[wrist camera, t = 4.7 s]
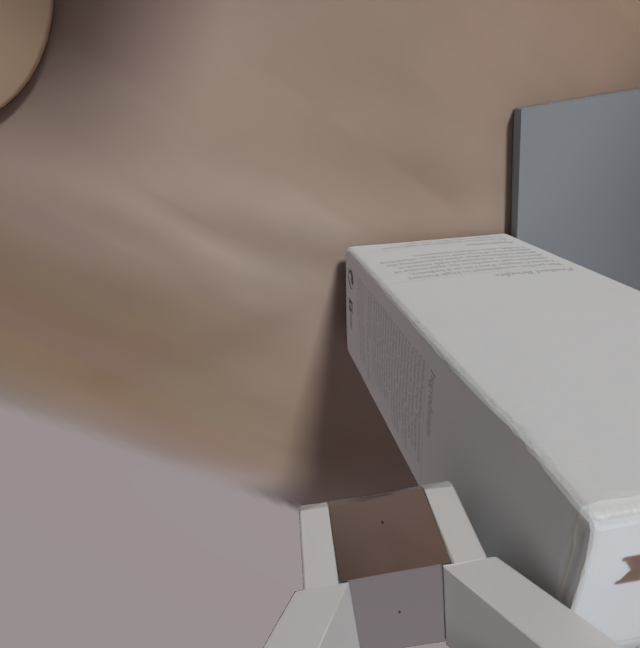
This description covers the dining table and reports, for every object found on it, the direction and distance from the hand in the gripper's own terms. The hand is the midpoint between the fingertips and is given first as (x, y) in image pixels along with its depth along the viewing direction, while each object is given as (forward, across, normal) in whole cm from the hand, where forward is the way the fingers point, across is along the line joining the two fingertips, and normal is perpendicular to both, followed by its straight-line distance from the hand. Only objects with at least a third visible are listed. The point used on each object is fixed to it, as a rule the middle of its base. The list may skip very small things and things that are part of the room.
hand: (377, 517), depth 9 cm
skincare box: (+10, -4, 0) cm, 11 cm away
